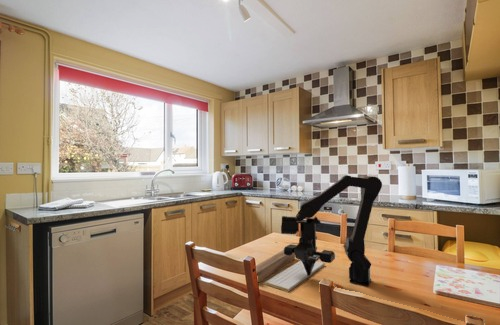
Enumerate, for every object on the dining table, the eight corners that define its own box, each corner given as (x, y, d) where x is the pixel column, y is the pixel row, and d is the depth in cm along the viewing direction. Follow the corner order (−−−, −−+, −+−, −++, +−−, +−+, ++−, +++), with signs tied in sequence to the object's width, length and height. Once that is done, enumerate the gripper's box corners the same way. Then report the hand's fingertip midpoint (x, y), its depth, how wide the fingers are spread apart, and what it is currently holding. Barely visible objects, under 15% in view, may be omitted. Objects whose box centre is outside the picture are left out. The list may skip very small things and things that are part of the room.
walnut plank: (294, 258, 121) (294, 250, 121) (258, 283, 95) (257, 272, 95) (285, 256, 124) (285, 248, 124) (247, 280, 98) (246, 270, 98)
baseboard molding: (260, 284, 96) (288, 293, 88) (260, 276, 96) (288, 285, 88) (300, 260, 120) (324, 266, 112) (299, 254, 120) (324, 259, 112)
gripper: (276, 235, 98) (277, 277, 98) (325, 243, 88) (326, 289, 87) (289, 230, 107) (290, 268, 107) (334, 236, 97) (335, 278, 96)
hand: (308, 275), depth 99 cm, fingers closed
